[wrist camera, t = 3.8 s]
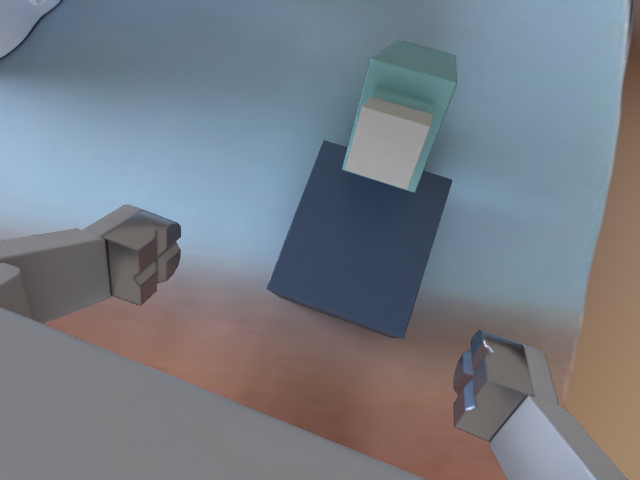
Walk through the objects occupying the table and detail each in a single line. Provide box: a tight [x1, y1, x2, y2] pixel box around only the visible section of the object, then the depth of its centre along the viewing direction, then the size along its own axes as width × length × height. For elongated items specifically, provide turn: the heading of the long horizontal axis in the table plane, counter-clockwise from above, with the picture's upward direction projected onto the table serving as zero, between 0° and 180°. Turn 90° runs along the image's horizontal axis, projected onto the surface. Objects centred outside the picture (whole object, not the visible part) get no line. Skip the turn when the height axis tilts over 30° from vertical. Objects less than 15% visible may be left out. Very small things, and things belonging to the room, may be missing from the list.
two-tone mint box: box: [342, 40, 457, 192], centre depth 29 cm, size 16×5×16 cm, turn 160°
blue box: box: [266, 140, 452, 338], centre depth 32 cm, size 13×10×6 cm
